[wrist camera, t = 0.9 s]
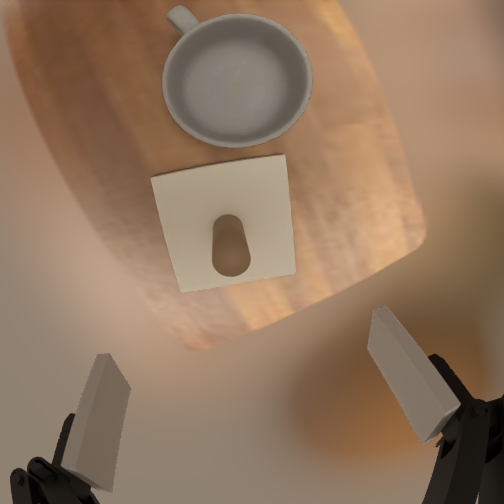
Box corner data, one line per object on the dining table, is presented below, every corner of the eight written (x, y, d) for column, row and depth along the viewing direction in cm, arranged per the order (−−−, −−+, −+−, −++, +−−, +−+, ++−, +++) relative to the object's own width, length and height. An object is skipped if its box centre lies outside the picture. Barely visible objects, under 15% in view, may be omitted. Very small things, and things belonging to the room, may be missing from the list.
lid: (152, 176, 26) (128, 194, 18) (282, 153, 26) (307, 163, 19) (181, 288, 31) (173, 334, 24) (293, 269, 32) (314, 310, 25)
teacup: (305, 116, 25) (336, 113, 18) (207, 162, 26) (203, 175, 19) (244, 6, 19) (253, -31, 12) (145, 50, 20) (120, 25, 13)
